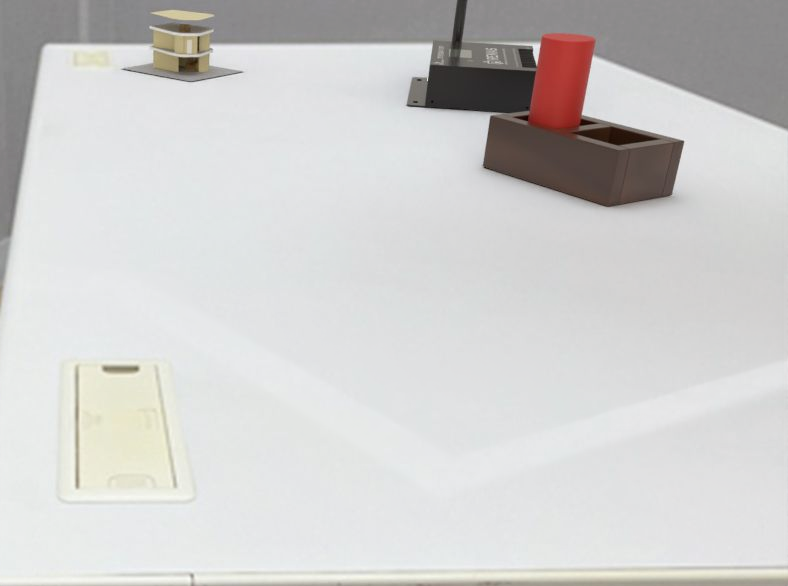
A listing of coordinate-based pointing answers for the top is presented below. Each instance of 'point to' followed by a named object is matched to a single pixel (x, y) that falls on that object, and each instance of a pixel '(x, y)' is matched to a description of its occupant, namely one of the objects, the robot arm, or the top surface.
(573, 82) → the peg
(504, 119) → the brown divided tray
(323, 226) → the top surface
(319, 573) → the top surface
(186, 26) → the stacked layers on plate
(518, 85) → the wireless controller
